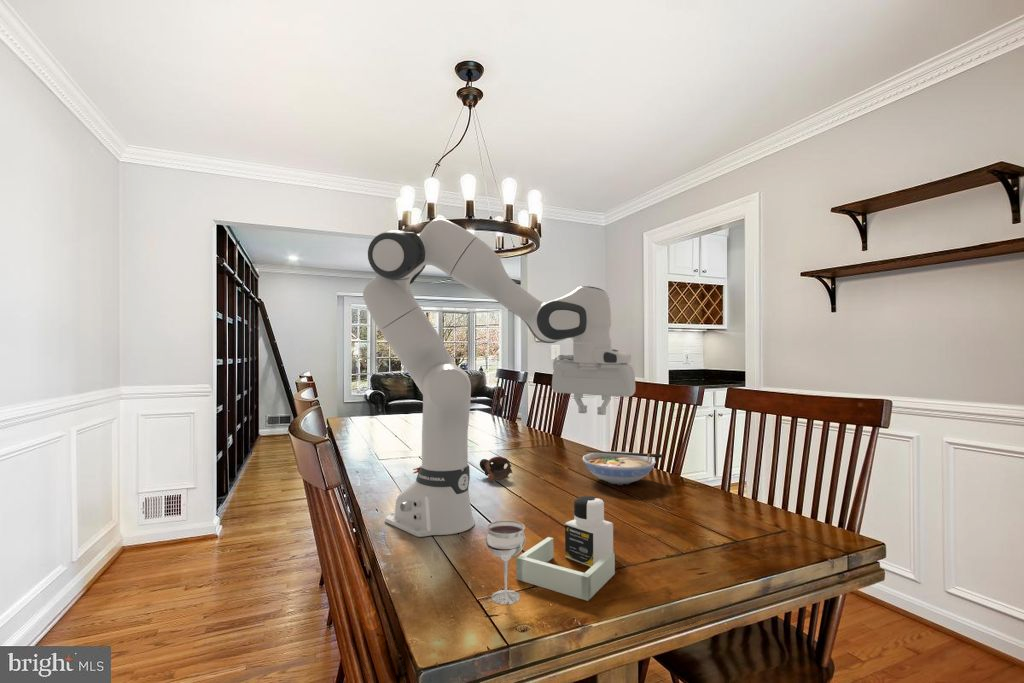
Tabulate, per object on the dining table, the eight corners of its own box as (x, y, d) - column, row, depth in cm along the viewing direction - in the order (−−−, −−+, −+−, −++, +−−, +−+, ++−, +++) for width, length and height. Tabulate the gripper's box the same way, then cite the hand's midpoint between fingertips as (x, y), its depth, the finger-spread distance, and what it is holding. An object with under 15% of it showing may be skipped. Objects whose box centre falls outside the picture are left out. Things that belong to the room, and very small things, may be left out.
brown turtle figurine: (517, 478, 165) (517, 459, 161) (503, 497, 158) (503, 478, 154) (485, 465, 170) (485, 447, 166) (470, 483, 163) (470, 464, 159)
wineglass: (517, 610, 82) (517, 536, 82) (479, 602, 84) (479, 531, 84) (531, 591, 88) (530, 523, 88) (495, 584, 90) (495, 518, 91)
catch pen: (516, 579, 93) (516, 557, 93) (548, 556, 103) (548, 536, 103) (587, 601, 85) (587, 577, 85) (614, 574, 95) (614, 552, 95)
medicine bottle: (564, 557, 102) (564, 498, 102) (585, 547, 107) (585, 491, 107) (592, 568, 97) (592, 506, 97) (613, 557, 102) (613, 498, 102)
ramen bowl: (570, 487, 153) (570, 460, 153) (588, 470, 174) (588, 446, 174) (654, 496, 143) (654, 468, 143) (663, 477, 164) (663, 452, 164)
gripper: (547, 355, 121) (547, 412, 121) (628, 356, 110) (628, 418, 110) (559, 354, 127) (559, 409, 126) (637, 355, 115) (638, 415, 115)
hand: (592, 413), depth 118 cm, fingers open, 3 cm apart
